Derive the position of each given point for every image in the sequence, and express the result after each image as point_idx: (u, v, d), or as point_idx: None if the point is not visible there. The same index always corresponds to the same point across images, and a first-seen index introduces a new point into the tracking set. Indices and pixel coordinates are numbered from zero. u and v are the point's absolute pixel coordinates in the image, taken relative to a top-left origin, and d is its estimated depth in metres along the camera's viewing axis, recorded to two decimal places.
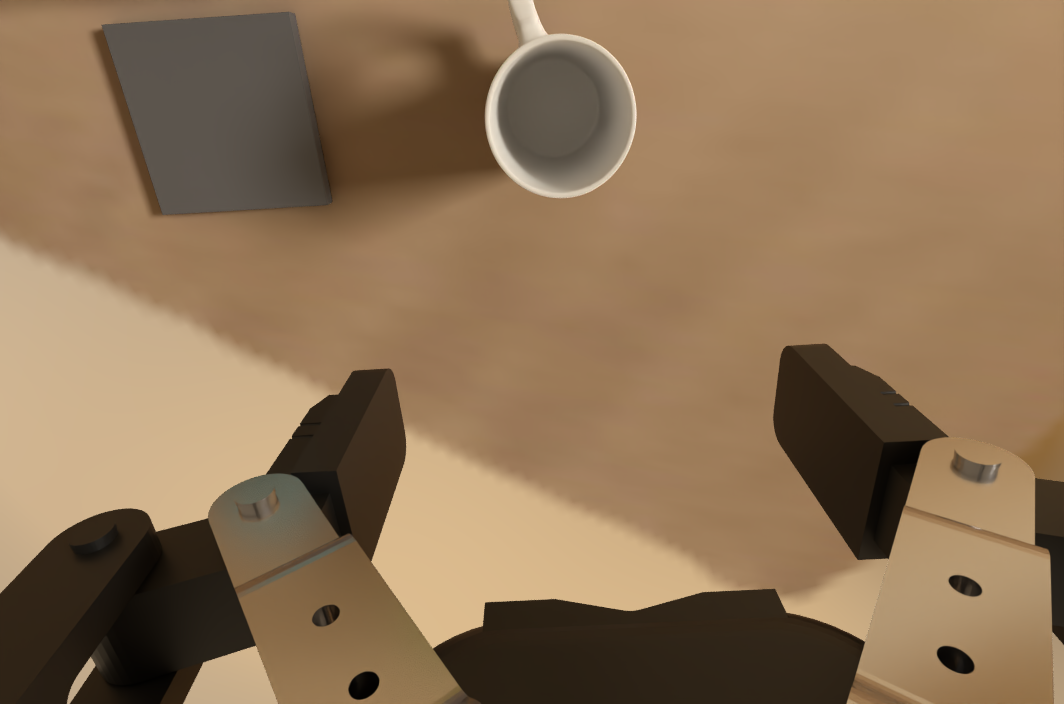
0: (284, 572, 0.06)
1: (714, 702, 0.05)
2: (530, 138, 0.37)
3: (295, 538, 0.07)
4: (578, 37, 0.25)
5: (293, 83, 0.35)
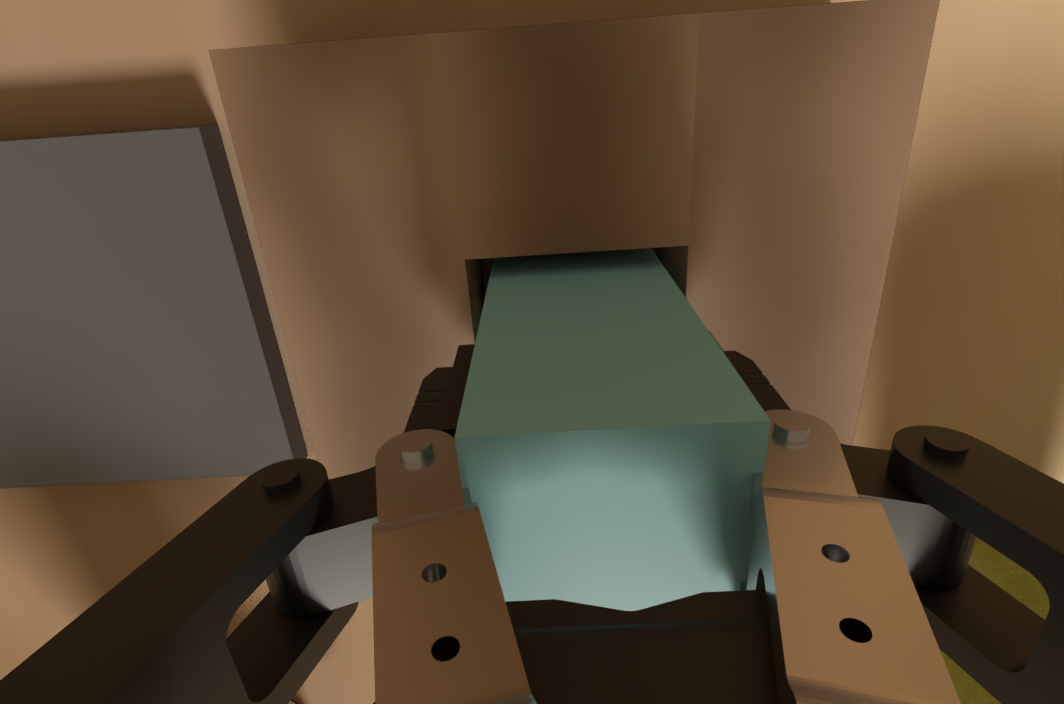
0: (413, 522, 0.07)
1: (714, 702, 0.05)
2: None
3: None
4: None
5: (184, 464, 0.20)
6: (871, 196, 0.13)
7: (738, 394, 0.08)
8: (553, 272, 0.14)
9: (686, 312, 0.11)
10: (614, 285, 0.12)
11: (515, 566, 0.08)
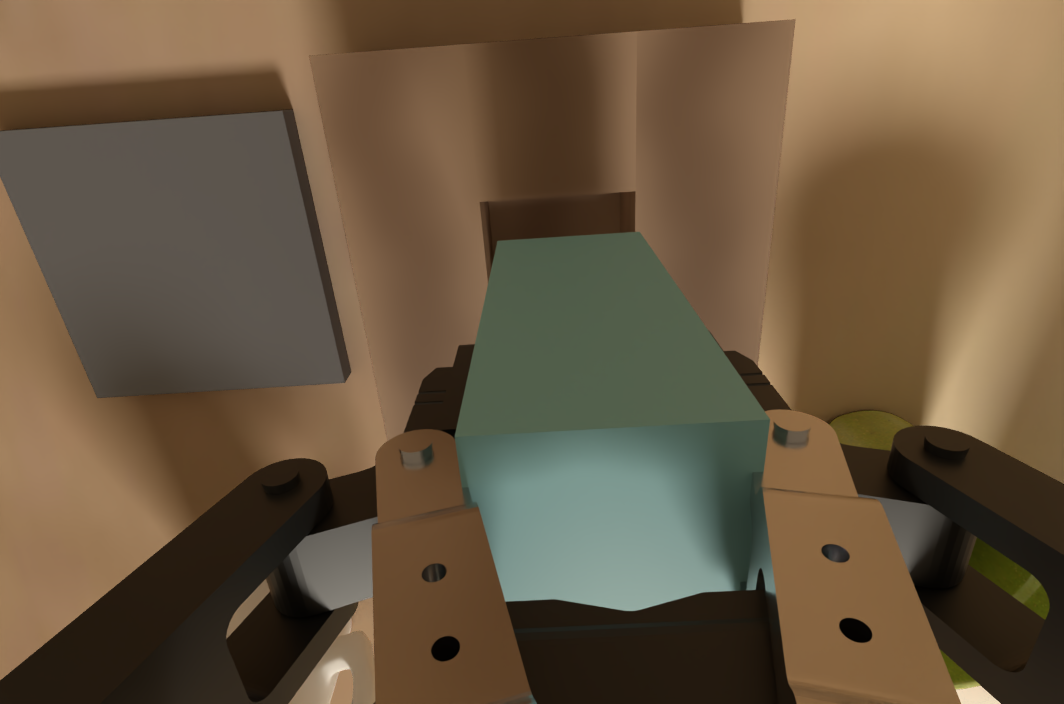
0: (413, 523, 0.07)
1: (714, 702, 0.05)
2: None
3: None
4: None
5: (257, 376, 0.25)
6: (759, 156, 0.18)
7: (738, 393, 0.08)
8: (553, 272, 0.14)
9: (686, 311, 0.11)
10: (614, 284, 0.12)
11: (515, 565, 0.08)
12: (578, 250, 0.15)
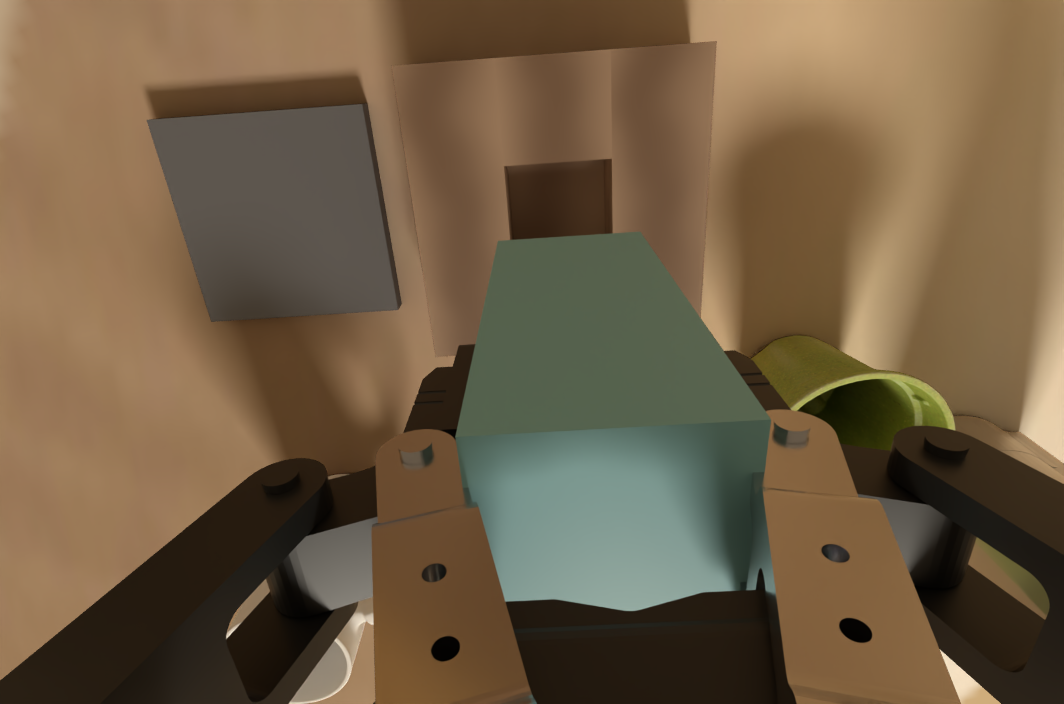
0: (413, 523, 0.07)
1: (714, 702, 0.05)
2: None
3: None
4: (350, 670, 0.31)
5: (332, 304, 0.34)
6: (697, 134, 0.27)
7: (739, 393, 0.08)
8: (554, 272, 0.14)
9: (686, 311, 0.11)
10: (615, 285, 0.12)
11: (515, 565, 0.08)
12: (579, 250, 0.15)
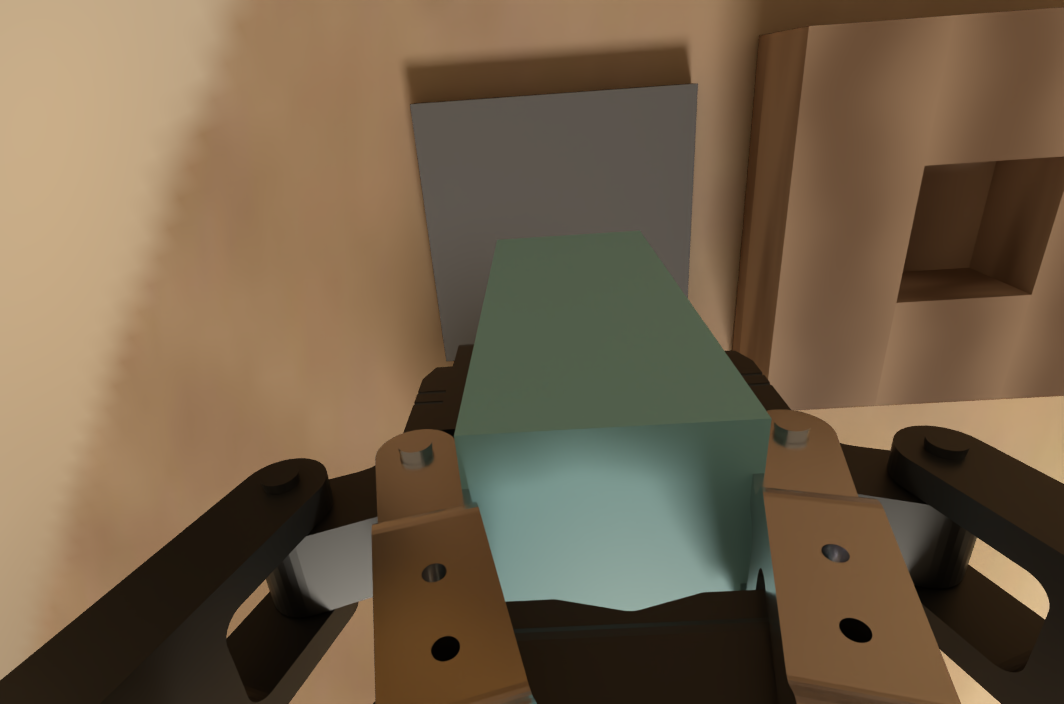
0: (413, 522, 0.07)
1: (714, 702, 0.05)
2: None
3: None
4: None
5: None
6: None
7: (739, 392, 0.08)
8: (553, 271, 0.14)
9: (686, 311, 0.11)
10: (614, 283, 0.12)
11: (515, 564, 0.08)
12: (578, 249, 0.15)
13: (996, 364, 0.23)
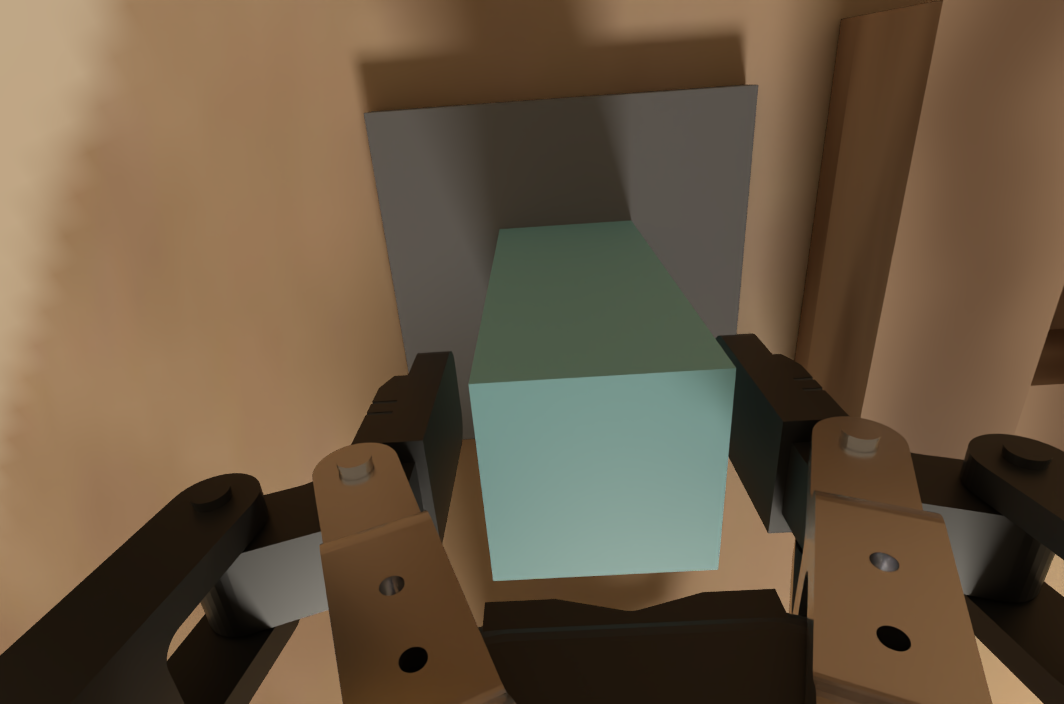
0: (363, 538, 0.06)
1: (714, 702, 0.05)
2: None
3: (400, 498, 0.08)
4: None
5: None
6: None
7: (710, 349, 0.09)
8: (551, 255, 0.15)
9: (670, 286, 0.12)
10: (606, 265, 0.14)
11: (519, 500, 0.10)
12: (574, 236, 0.16)
13: None
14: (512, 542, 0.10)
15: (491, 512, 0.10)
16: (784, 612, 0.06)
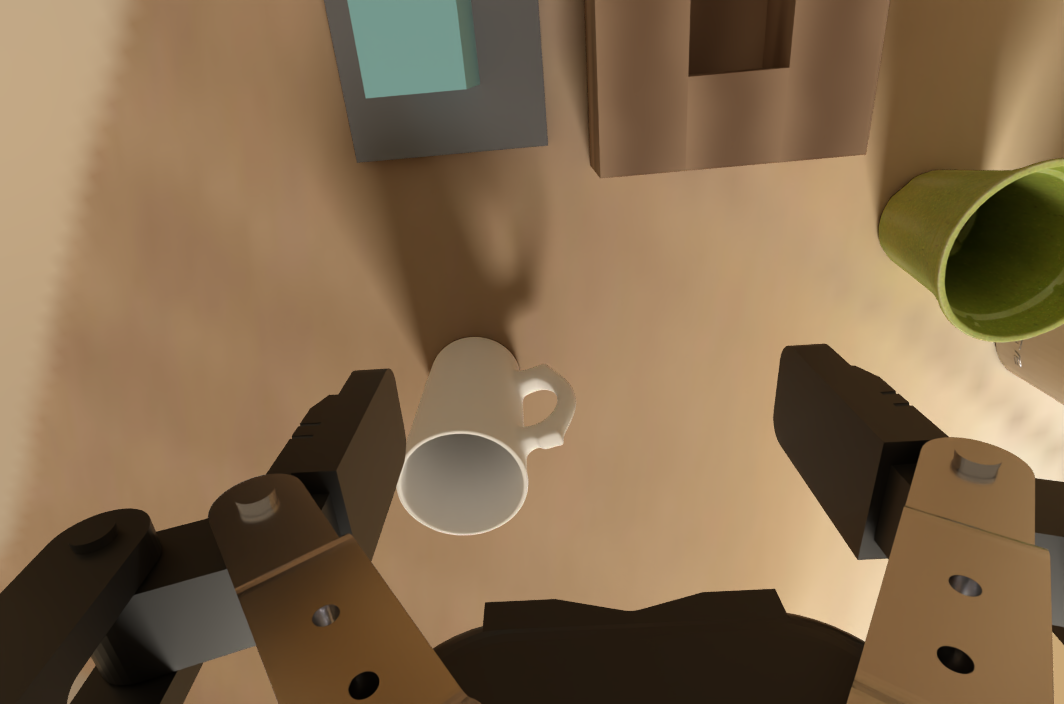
0: (284, 572, 0.06)
1: (714, 702, 0.05)
2: None
3: (295, 538, 0.07)
4: (525, 493, 0.31)
5: (482, 140, 0.33)
6: None
7: None
8: None
9: None
10: None
11: (372, 46, 0.22)
12: None
13: (773, 130, 0.30)
14: (371, 73, 0.23)
15: (360, 55, 0.23)
16: (784, 612, 0.06)
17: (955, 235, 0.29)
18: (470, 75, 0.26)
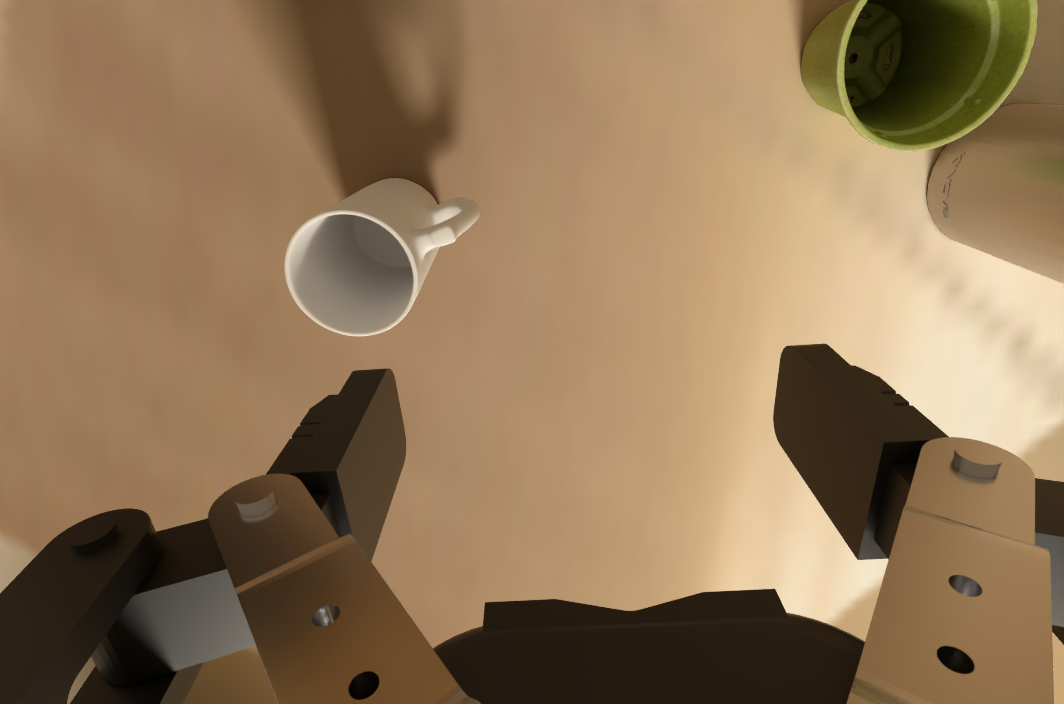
0: (284, 572, 0.06)
1: (714, 702, 0.05)
2: None
3: (295, 538, 0.07)
4: (416, 288, 0.30)
5: None
6: None
7: None
8: None
9: None
10: None
11: None
12: None
13: None
14: None
15: None
16: (784, 612, 0.06)
17: (852, 22, 0.28)
18: None
